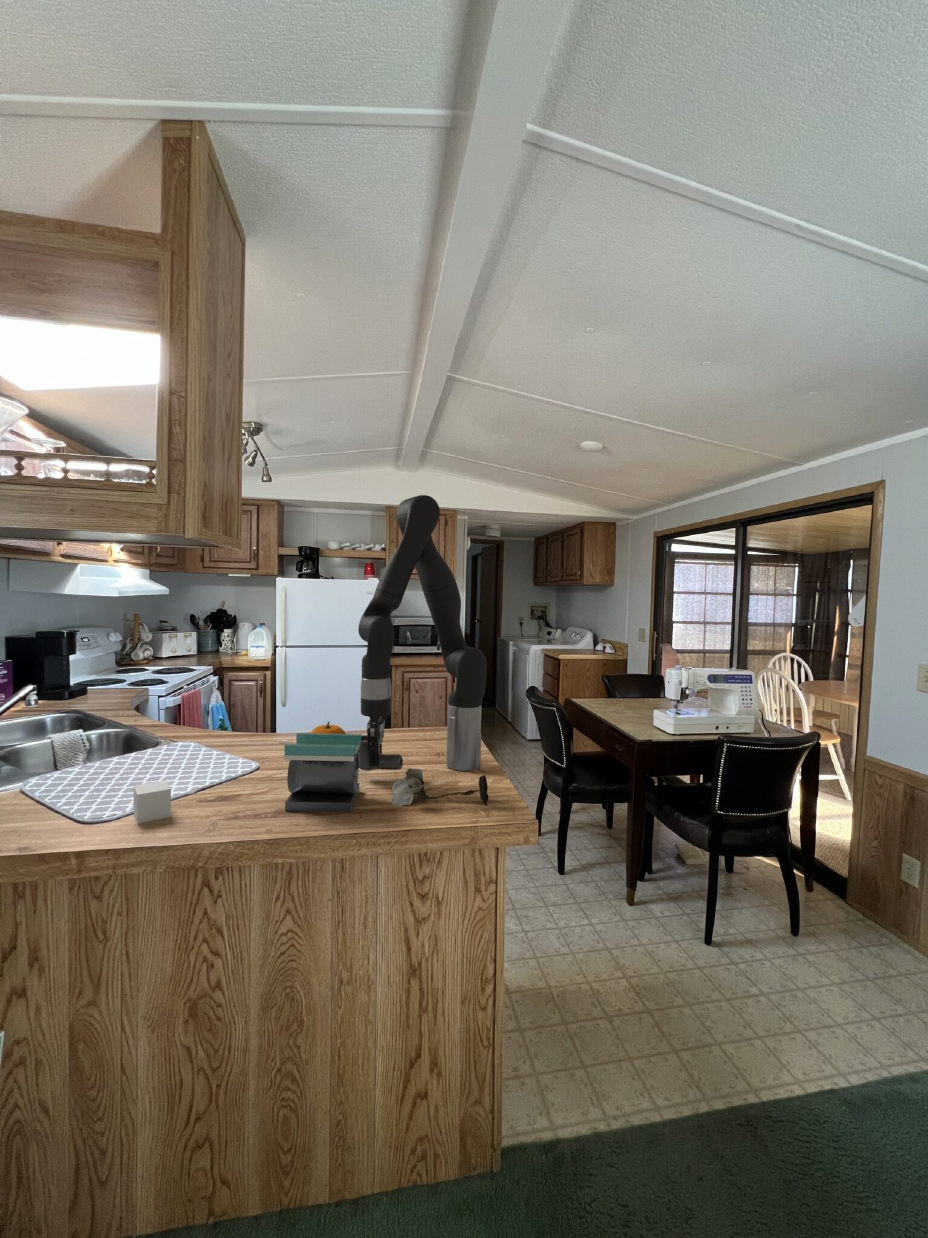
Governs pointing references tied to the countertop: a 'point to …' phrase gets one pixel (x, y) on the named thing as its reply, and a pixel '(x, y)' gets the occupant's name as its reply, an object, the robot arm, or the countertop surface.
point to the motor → (323, 772)
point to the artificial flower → (415, 786)
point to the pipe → (384, 759)
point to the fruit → (328, 729)
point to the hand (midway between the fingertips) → (375, 761)
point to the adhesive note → (152, 801)
